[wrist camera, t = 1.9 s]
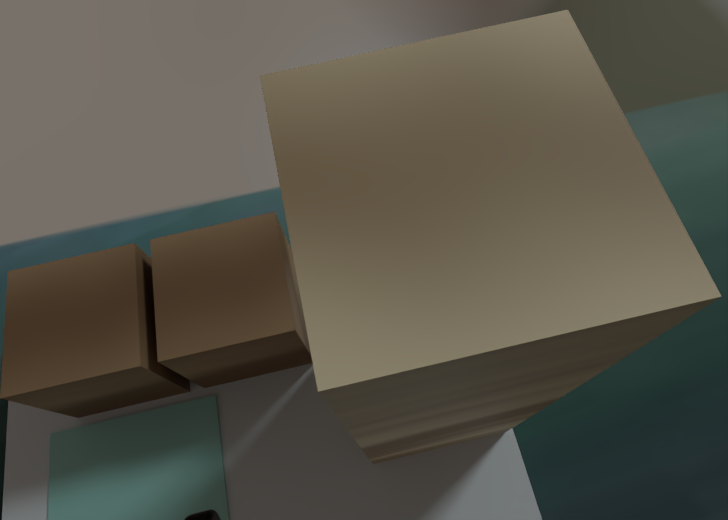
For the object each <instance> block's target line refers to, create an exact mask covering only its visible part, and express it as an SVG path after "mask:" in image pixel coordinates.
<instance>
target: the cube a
mask: <svg viewBox="0 0 728 520" xmlns="http://www.w3.org/2000/svg"><path fill="white" fill-rule="evenodd" d="M187 392H190V380H189V379H187V378H185V377H183V376H182V375H180V374H178V373H176V372H175V371H173V370H171V369H169V368H168V367H166V366H164V365H162V364H161V363H159V362H158V358H157V341H156V325H155V308H154V292H153V275H152V259H151V258H150V257H148V256H147V255H146V254H145V253H144V252H143V251H142V250H141V249H140V248H139V247H138V246H137V245H136V244H135V243H133V244H129V245H124V246H120V247H115V248H111V249H106V250H102V251H97V252H93V253H88V254H84V255H79V256H75V257H70V258H66V259H61V260H57V261H53V262H48V263H44V264H39V265H35V266H30V267H26V268H21V269H17V270H12V271H8V280H7V296H6V312H5V328H4V343H3V359H2V375H1V391H0V399H4V400H8V401H12V402H16V403H20V404H24V405H28V406H32V407H36V408H40V409H44V410H48V411H52V412H56V413H60V414H64V415H68V416H72V417H76V418H80V417H84V416H88V415H93V414H97V413H101V412H106V411H110V410H114V409H118V408H123V407H127V406H131V405H135V404H140V403H144V402H148V401H153V400H157V399H161V398H165V397H170V396H174V395H178V394H183V393H187Z"/></svg>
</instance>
